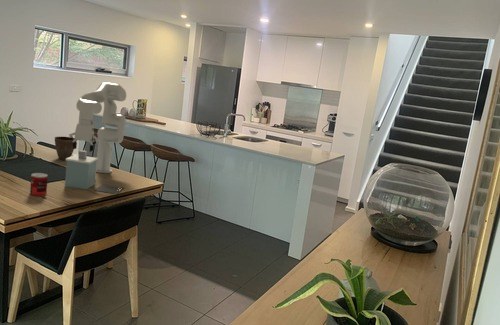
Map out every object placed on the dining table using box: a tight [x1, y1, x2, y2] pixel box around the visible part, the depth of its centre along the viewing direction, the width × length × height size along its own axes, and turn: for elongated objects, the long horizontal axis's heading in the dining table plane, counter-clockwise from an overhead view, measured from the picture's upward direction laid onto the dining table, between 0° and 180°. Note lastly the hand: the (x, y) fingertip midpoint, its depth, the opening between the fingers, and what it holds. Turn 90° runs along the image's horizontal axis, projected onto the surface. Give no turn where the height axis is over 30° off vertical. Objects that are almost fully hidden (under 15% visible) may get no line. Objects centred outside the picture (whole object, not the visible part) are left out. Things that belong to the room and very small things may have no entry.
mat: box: [93, 183, 123, 195], centre depth 238 cm, size 14×14×1 cm
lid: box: [65, 149, 98, 164], centre depth 233 cm, size 14×14×6 cm
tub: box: [64, 160, 97, 190], centre depth 235 cm, size 13×13×16 cm
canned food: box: [29, 172, 49, 197], centre depth 208 cm, size 8×8×11 cm
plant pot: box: [54, 136, 75, 161], centre depth 290 cm, size 15×15×16 cm
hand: (82, 150), depth 232 cm, fingers open, 9 cm apart
